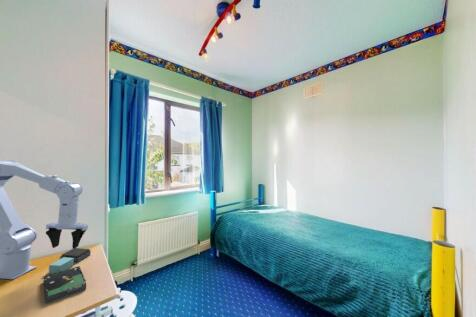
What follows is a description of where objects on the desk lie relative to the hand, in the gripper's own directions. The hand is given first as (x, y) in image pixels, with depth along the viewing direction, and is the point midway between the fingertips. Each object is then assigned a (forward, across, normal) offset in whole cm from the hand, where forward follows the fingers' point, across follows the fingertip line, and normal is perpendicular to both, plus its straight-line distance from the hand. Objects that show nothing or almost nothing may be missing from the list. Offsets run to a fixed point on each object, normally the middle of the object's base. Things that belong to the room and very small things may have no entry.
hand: (65, 247), depth 77 cm
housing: (+10, -1, +1) cm, 10 cm away
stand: (+9, -2, +10) cm, 14 cm away
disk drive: (+10, +8, -9) cm, 16 cm away
